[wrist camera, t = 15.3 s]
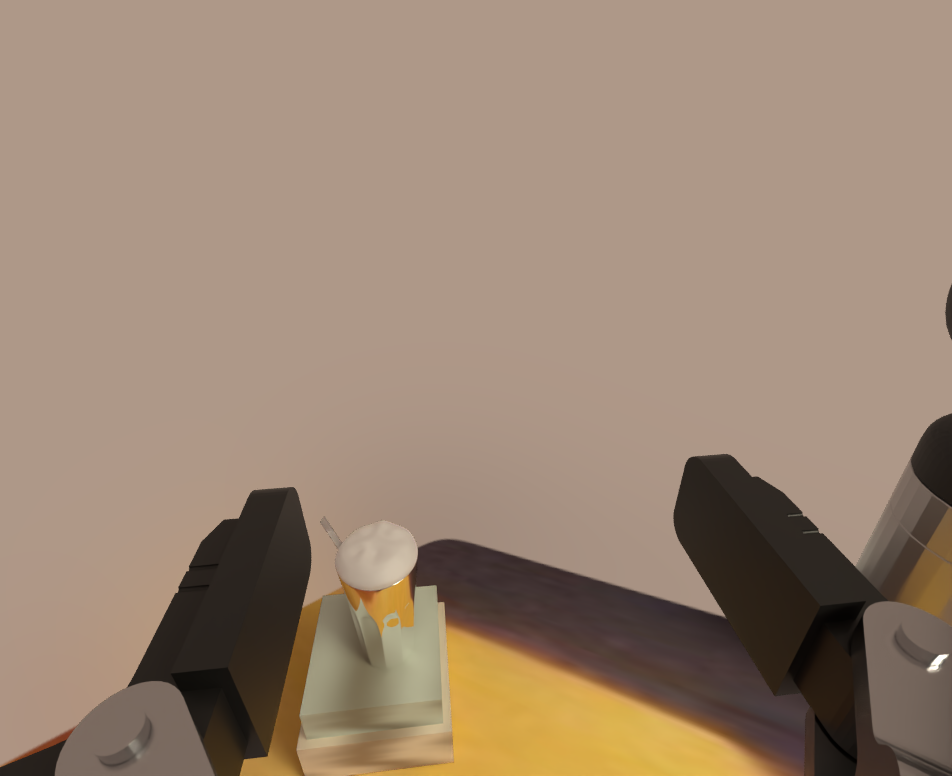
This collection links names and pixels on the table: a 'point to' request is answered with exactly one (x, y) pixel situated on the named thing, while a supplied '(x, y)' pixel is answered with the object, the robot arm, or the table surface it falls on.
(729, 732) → the table surface
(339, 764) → the tower base
